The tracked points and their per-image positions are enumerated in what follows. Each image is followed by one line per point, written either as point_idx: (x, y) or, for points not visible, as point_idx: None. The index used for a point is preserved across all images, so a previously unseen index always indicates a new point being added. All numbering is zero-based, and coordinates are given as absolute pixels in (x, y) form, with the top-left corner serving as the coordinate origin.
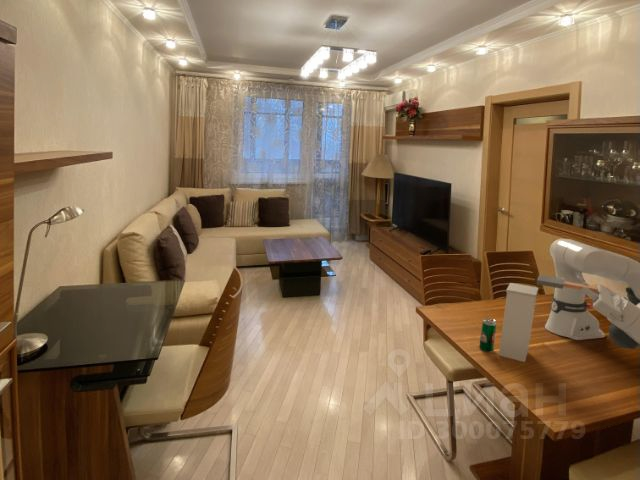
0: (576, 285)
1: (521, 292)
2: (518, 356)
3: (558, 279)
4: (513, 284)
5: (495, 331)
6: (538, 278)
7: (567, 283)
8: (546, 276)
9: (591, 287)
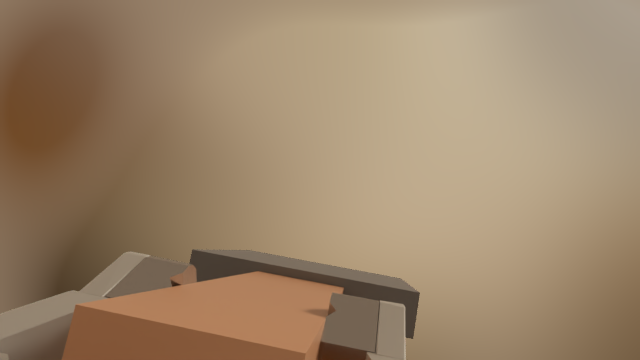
0: (232, 278)
1: None
2: None
3: (348, 276)
4: None
5: None
6: (292, 258)
7: (276, 277)
8: (381, 277)
9: (197, 302)
